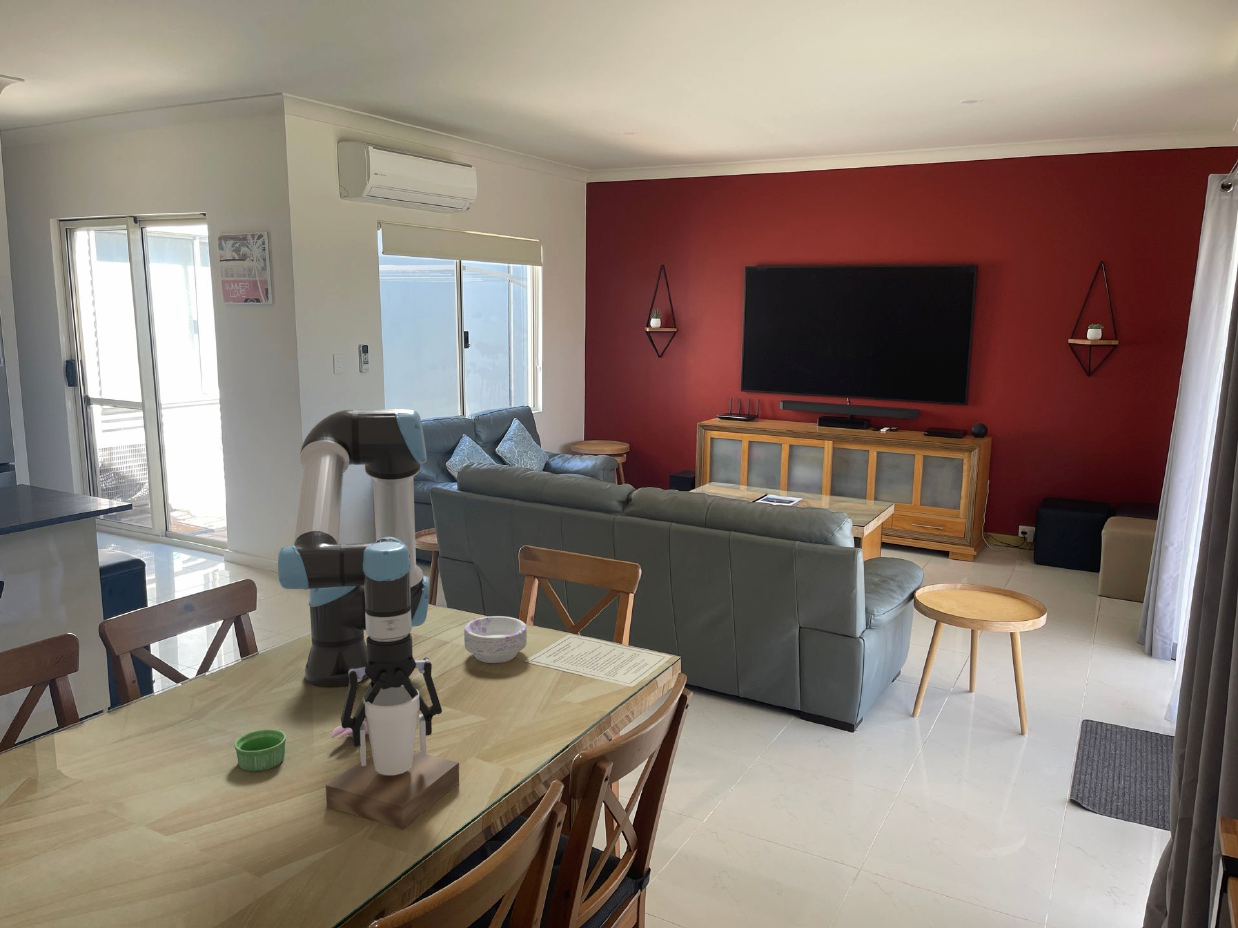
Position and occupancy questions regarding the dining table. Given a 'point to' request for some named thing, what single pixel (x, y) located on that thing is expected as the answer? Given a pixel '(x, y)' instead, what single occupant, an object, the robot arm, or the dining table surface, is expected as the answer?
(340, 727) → the rabbit figure
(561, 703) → the dining table surface
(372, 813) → the walnut base
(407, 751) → the foam cup
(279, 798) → the dining table surface
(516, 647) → the white bowl
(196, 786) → the dining table surface
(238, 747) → the ramekin
